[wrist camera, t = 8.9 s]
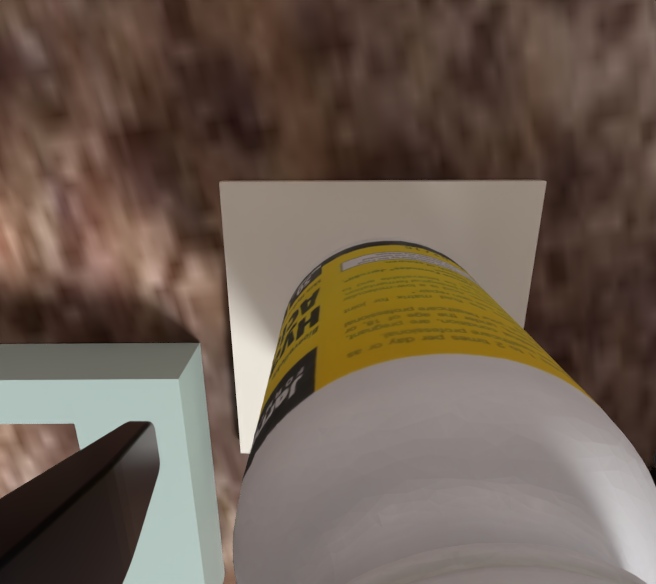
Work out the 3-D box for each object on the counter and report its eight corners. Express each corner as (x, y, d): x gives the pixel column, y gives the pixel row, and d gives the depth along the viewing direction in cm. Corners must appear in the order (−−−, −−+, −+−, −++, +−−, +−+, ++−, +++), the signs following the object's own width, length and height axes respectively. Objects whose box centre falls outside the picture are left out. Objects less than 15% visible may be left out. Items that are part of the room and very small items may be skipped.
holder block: (200, 342, 13) (178, 379, 11) (224, 574, 16) (211, 634, 14) (-226, 345, 13) (-323, 382, 11) (-120, 578, 16) (-181, 639, 14)
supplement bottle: (288, 223, 11) (117, 635, 2) (500, 244, 11) (1248, 707, 2) (274, 407, 13) (150, 1082, 4) (458, 423, 13) (770, 1096, 4)
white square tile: (539, 179, 11) (546, 181, 11) (499, 442, 14) (504, 451, 14) (222, 180, 11) (218, 182, 11) (243, 444, 14) (240, 453, 13)
